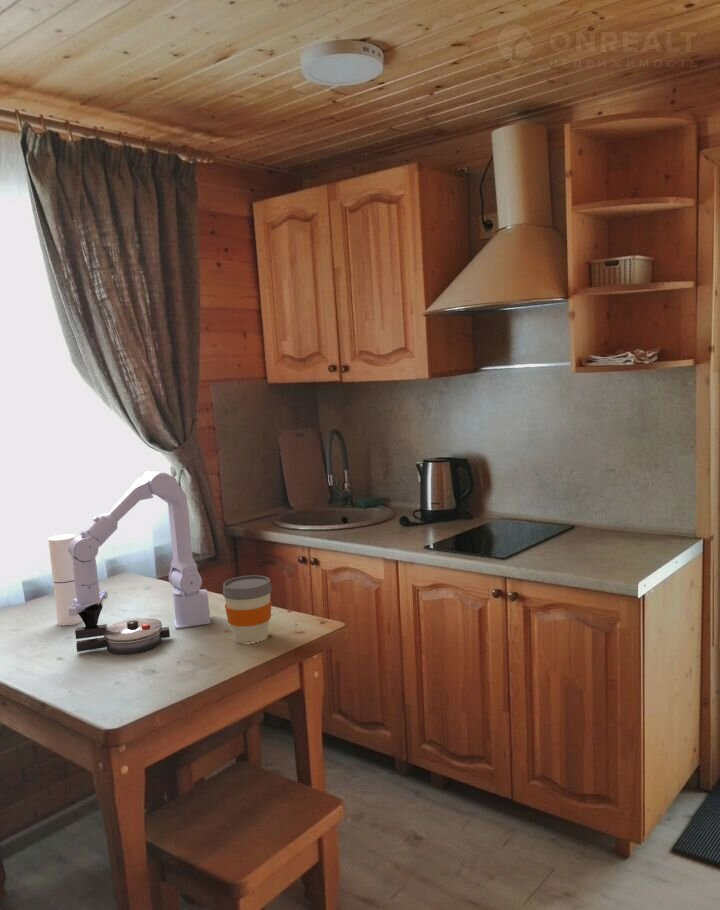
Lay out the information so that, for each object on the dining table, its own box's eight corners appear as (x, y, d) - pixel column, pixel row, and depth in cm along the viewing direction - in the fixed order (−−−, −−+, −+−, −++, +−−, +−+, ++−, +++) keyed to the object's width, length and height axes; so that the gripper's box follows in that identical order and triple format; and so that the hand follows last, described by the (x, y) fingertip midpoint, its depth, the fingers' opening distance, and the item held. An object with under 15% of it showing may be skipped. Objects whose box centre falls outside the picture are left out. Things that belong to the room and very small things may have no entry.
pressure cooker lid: (163, 618, 206) (162, 610, 205) (160, 637, 191) (160, 627, 191) (80, 628, 201) (79, 620, 201) (72, 648, 187) (71, 639, 187)
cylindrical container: (68, 627, 215) (58, 541, 212) (52, 623, 219) (42, 539, 216) (89, 619, 221) (80, 535, 218) (73, 616, 225) (64, 533, 222)
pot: (168, 630, 207) (166, 618, 207) (172, 648, 193) (170, 635, 193) (78, 644, 200) (77, 632, 200) (76, 664, 187) (74, 650, 186)
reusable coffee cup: (250, 626, 206) (245, 573, 205) (285, 633, 199) (280, 578, 197) (216, 641, 196) (211, 585, 195) (251, 650, 189) (247, 591, 187)
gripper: (88, 574, 204) (94, 623, 205) (55, 591, 190) (61, 643, 191) (112, 574, 202) (117, 623, 204) (80, 591, 188) (86, 644, 190)
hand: (92, 633), depth 197 cm, fingers closed
